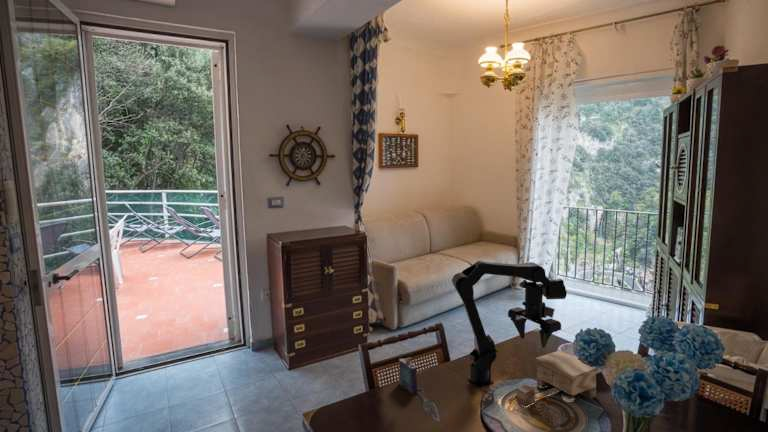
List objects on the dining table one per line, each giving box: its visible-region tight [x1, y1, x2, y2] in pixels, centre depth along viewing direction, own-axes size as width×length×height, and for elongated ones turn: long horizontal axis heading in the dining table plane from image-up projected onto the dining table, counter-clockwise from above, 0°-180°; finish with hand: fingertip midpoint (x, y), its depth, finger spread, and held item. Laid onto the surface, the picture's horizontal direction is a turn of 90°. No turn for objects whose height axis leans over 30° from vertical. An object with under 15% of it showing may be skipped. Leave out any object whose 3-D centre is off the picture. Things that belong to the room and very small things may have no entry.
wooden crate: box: [534, 350, 598, 400], centre depth 133 cm, size 12×15×10 cm
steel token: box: [560, 392, 576, 401], centre depth 129 cm, size 4×4×1 cm
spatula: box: [516, 384, 561, 407], centre depth 130 cm, size 16×4×5 cm, turn 116°
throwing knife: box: [416, 387, 441, 423], centre depth 130 cm, size 4×20×1 cm, turn 14°
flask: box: [398, 357, 419, 395], centre depth 140 cm, size 9×3×11 cm, turn 30°
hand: (532, 342), depth 142 cm, fingers open, 9 cm apart
